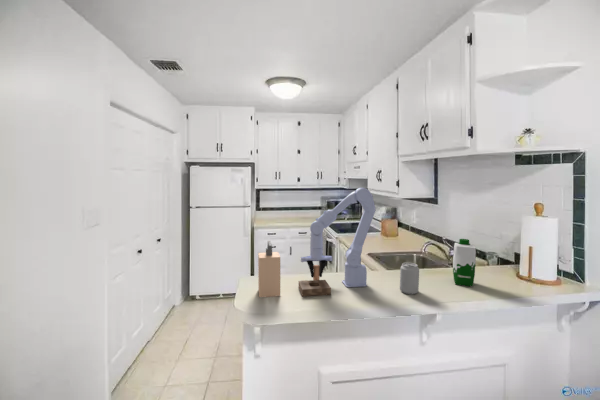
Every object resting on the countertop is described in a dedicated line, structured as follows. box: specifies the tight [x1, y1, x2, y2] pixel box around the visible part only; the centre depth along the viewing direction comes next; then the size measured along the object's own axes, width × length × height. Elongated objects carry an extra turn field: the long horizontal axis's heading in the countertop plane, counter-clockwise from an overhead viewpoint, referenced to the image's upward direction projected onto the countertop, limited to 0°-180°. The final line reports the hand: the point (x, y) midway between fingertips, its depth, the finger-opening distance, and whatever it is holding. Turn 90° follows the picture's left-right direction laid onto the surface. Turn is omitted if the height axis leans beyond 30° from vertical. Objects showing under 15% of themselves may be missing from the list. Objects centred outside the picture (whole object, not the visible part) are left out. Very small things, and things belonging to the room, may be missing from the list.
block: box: [298, 279, 332, 298], centre depth 127 cm, size 12×10×3 cm
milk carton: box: [452, 238, 477, 287], centre depth 137 cm, size 9×9×20 cm
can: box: [399, 262, 420, 295], centre depth 127 cm, size 8×8×12 cm
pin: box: [312, 264, 320, 280], centre depth 137 cm, size 3×3×8 cm
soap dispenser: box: [257, 240, 281, 298], centre depth 123 cm, size 13×9×22 cm
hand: (316, 276), depth 137 cm, fingers open, 3 cm apart
